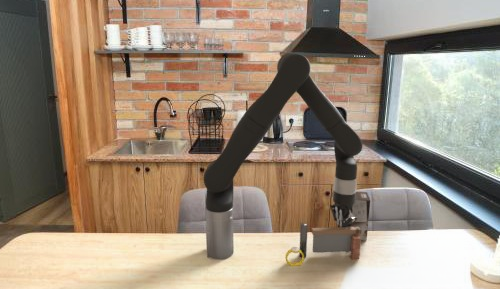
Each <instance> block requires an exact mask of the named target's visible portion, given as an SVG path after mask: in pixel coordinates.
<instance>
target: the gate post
mask: <svg viewBox="0 0 500 289" xmlns="http://www.w3.org/2000/svg"><path fill="white" fill-rule="evenodd" d="M307 243H308V223H307V222H301V223H300V227H299V250H301V251H302V253H303V255H304V259H305V258H307V248H308V244H307ZM298 254H299V255H298V257H299V258H301V259H302V254H301V253H299V252H298Z"/></svg>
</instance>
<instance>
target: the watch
mask: <svg viewBox="0 0 500 289" xmlns="http://www.w3.org/2000/svg"><path fill="white" fill-rule="evenodd" d="M299 249H300V247H298V246H292V247H290V249H289V250H288V251H286V253H285V262H286V263H287V265H289V267H291V266H295V267H299V266H301V265H302V264H303V262H304V260H305V258H304V255H303V253H302V251H301V250H299ZM292 253H294V254H297V253H298V254H299V253H301V254H302V258H301V259H300V261H299V262H290V260H288V256H289V254H292Z"/></svg>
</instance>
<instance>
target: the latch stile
mask: <svg viewBox="0 0 500 289" xmlns="http://www.w3.org/2000/svg"><path fill="white" fill-rule="evenodd" d="M361 242H362V240H361V238H360V236H359V235H354V236H352V240H351V252H350V254H349V257H350V258H351V260H352V261H359V260H360V254H361Z"/></svg>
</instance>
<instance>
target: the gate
mask: <svg viewBox="0 0 500 289" xmlns="http://www.w3.org/2000/svg"><path fill="white" fill-rule="evenodd" d="M360 231H361V229H360V228H359V227H338V226H337V227H334V226H333V227H311V234H312V253H314V254H316V253H349V252H350V253H351V240H352V236H354V235H359V236H360Z"/></svg>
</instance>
